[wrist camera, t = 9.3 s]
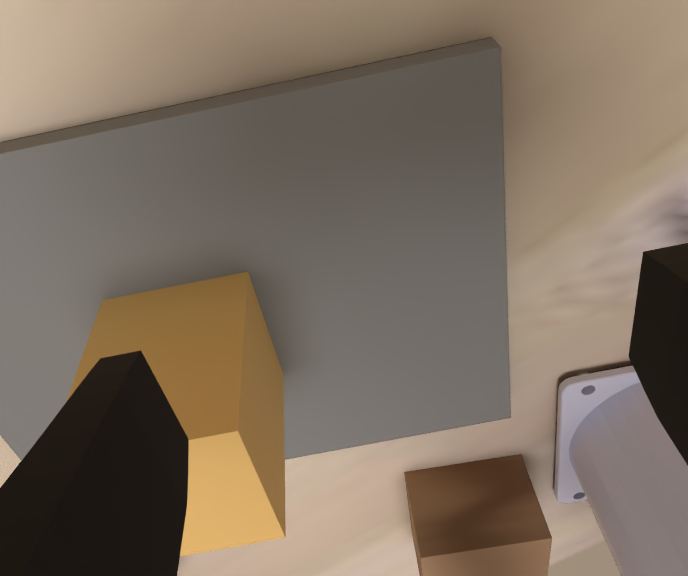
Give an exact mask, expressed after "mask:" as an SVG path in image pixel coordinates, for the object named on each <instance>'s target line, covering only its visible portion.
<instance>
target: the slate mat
mask: <svg viewBox="0 0 688 576" xmlns="http://www.w3.org/2000/svg"><path fill="white" fill-rule="evenodd" d="M244 272H248V273H249V276H250V279H251V282H252V285H253V288H254V291H255V294H256V296H257V299H258V302H259V305H260V308H261V311H262V314H263V317H264V320H265V323H266V325H267V328H268V331H269V334H270V337H271V340H272V343H273V346H274V349H275V352H276V354H277V357H278V360H279V363H280V366H281V369H282V372H283V375H284V452H285V460H286V459H291V458H297V457H302V456H307V455H313V454H318V453H324V452H329V451H334V450H340V449H345V448H350V447H356V446H361V445H367V444H372V443H377V442H383V441H388V440H394V439H399V438H404V437H410V436H415V435H420V434H426V433H431V432H437V431H442V430H447V429H453V428H458V427H463V426H469V425H474V424H480V423H485V422H490V421H496V420H501V419H507V418H511V406H510V370H509V334H508V297H507V261H506V225H505V189H504V152H503V116H502V80H501V47H500V46H499V45H498V44H497V43H496V42H495V40H494V39H493V38H492V37H491V38H487V39H482V40H477V41H473V42H468V43H463V44H459V45H454V46H449V47H445V48H440V49H435V50H431V51H426V52H421V53H417V54H412V55H407V56H403V57H398V58H393V59H389V60H384V61H379V62H375V63H370V64H365V65H361V66H356V67H351V68H347V69H342V70H337V71H333V72H328V73H323V74H319V75H314V76H309V77H305V78H300V79H295V80H291V81H286V82H281V83H277V84H272V85H267V86H263V87H258V88H253V89H249V90H244V91H239V92H235V93H230V94H225V95H221V96H216V97H211V98H207V99H202V100H197V101H193V102H188V103H183V104H179V105H174V106H169V107H165V108H160V109H155V110H151V111H146V112H141V113H137V114H132V115H127V116H123V117H118V118H113V119H109V120H104V121H99V122H95V123H90V124H85V125H81V126H76V127H71V128H67V129H62V130H57V131H53V132H48V133H43V134H39V135H34V136H29V137H25V138H20V139H15V140H11V141H6V142H1V143H0V435H1V436H2V438H3V439H4V440H5V441H6V442H7V444H8V445H9V446H10V447H11V449H12V450H13V451H14V452H15V453H16V455H17V456H18V457H19V458H20V459H21V461H22V460H23V458H24V457H25V456H26V454H27V453H28V452H29V450H30V449H31V448H32V447H33V445H34V444H35V443H36V441H37V440H38V439H39V438H40V436H41V435H42V434H43V432H44V431H45V430H46V428H47V427H48V426H49V424H50V423H51V422H52V420H53V419H54V418H55V416H56V415H57V414H58V412H59V411H60V410H61V408H62V407H63V406H64V404H65V403H66V401H67V398H68V395H69V393H70V390H71V387H72V384H73V381H74V378H75V376H76V373H77V370H78V367H79V364H80V361H81V359H82V356H83V353H84V350H85V347H86V344H87V342H88V339H89V336H90V333H91V330H92V327H93V325H94V322H95V319H96V316H97V313H98V310H99V308H100V305H101V302H102V300H107V299H112V298H117V297H122V296H127V295H132V294H137V293H142V292H147V291H152V290H157V289H162V288H168V287H173V286H178V285H183V284H188V283H193V282H198V281H203V280H208V279H213V278H218V277H223V276H228V275H234V274H239V273H244Z"/></svg>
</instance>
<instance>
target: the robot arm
mask: <svg viewBox="0 0 688 576" xmlns="http://www.w3.org/2000/svg"><path fill="white" fill-rule="evenodd" d="M629 358H630V360H631V362H632V366H627V367H622V368H616V369H611V370H606V371H600V372H595V373H590V374H584V375H579V376H574V377H570V378H567V379H565V380H564V381H563V382H562V383H561V384H560V385H559V390H558V413H557V436H556V459H555V482H554V494H555V497H556V500H557V501H558V502H559V503H562V504H568V503H573V502H579V501H584V500H588V502H589V504H590V507H591V509H592V511H593V513H594V516H595V518H596V520H597V522H598V525H599V527H600V529H601V531H602V534H603V536H604V538H605V540H606V543H607V545H608V547H609V549H610V552H611V554H612V556H613V558H614V560H615V563H616V565H617V567H618V570H619V572H620V574H621V576H688V243H686V244H681V245H676V246H671V247H665V248H660V249H655V250H650V251H645V252H643V257H642V264H641V272H640V279H639V286H638V293H637V300H636V307H635V315H634V322H633V329H632V336H631V343H630V351H629ZM188 456H189V439H188V437H187V435H186V433H185V431H184V430H183V428H182V426H181V424H180V422H179V420H178V418H177V417H176V415H175V413H174V411H173V409H172V407H171V405H170V404H169V402H168V400H167V398H166V396H165V394H164V392H163V390H162V389H161V387H160V385H159V383H158V381H157V379H156V377H155V376H154V374H153V372H152V370H151V368H150V366H149V364H148V362H147V361H146V359H145V357H144V355H143V353H142V351H141V350H140V351H135V352H130V353H125V354H120V355H115V356H110V357H105V358H100V359H99V361H98V362H97V363H96V364H95V366H94V367H93V368H92V369H91V370H90V372H89V373H88V374H87V376H86V377H85V378H84V379H83V381H82V382H81V383H80V385H79V386H78V387H77V389H76V390H75V391H74V393H73V394H72V395H71V396H70V398H69V399H68V400H67V402H66V403H65V404H64V406H63V407H62V408H61V410H60V411H59V412H58V414H57V415H56V416H55V418H54V419H53V420H52V422H51V423H50V424H49V426H48V427H47V428H46V430H45V431H44V432H43V434H42V435H41V436H40V438H39V439H38V440H37V441H36V443H35V444H34V445H33V447H32V448H31V449H30V450H29V452H28V453H27V454H26V456H25V457H24V458H23V460H22V461H21V462H20V463H19V465H18V466H17V467H16V469H15V470H14V471H13V472H12V474H11V475H10V476H9V478H8V479H7V480H6V482H5V483H4V484H3V485H2V487H1V488H0V576H177V571H178V564H179V558H180V551H181V544H182V538H183V531H184V524H185V517H186V509H187V497H188Z"/></svg>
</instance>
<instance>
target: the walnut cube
mask: <svg viewBox="0 0 688 576" xmlns="http://www.w3.org/2000/svg"><path fill="white" fill-rule="evenodd" d="M404 473H405V481H406V488H407V496H408V504H409V512H410V520H411V528H412V535H413V541H414V546H415V552H416V557H417V563H418V568H419V574H420V576H547V573H548V566H549V558H550V550H551V543H552V537H551V534H550V531H549V529H548V526H547V523H546V521H545V518H544V515H543V513H542V510H541V507H540V504H539V502H538V499H537V496H536V494H535V491H534V488H533V486H532V483H531V480H530V478H529V475H528V472H527V470H526V467H525V464H524V462H523V459H522V456H521V454H519V455H512V456H506V457H500V458H493V459H487V460H480V461H474V462H467V463H461V464H454V465H448V466H441V467H435V468H428V469H422V470H415V471H409V472H404Z"/></svg>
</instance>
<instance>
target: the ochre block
mask: <svg viewBox="0 0 688 576" xmlns="http://www.w3.org/2000/svg"><path fill="white" fill-rule="evenodd" d="M140 350H141V351H142V353H143V355H144V357H145V359H146V361H147V362H148V364H149V366H150V368H151V370H152V372H153V374H154V376H155V377H156V379H157V381H158V383H159V385H160V387H161V389H162V390H163V392H164V394H165V396H166V398H167V400H168V402H169V404H170V405H171V407H172V409H173V411H174V413H175V415H176V417H177V418H178V420H179V422H180V424H181V426H182V428H183V430H184V431H185V433H186V435H187V437H188V439H189V456H188V497H187V509H186V517H185V524H184V531H183V538H182V544H181V551H180V556H184V555H190V554H196V553H201V552H207V551H212V550H218V549H224V548H229V547H235V546H241V545H246V544H252V543H257V542H263V541H269V540H274V539H280V538H285V452H284V375H283V372H282V369H281V366H280V363H279V360H278V357H277V354H276V352H275V349H274V346H273V343H272V340H271V337H270V334H269V331H268V328H267V325H266V323H265V320H264V317H263V314H262V311H261V308H260V305H259V302H258V299H257V296H256V294H255V291H254V288H253V285H252V282H251V279H250V276H249V273H248V272H244V273H239V274H234V275H228V276H223V277H218V278H213V279H208V280H203V281H198V282H193V283H188V284H183V285H178V286H173V287H168V288H162V289H157V290H152V291H147V292H142V293H137V294H132V295H127V296H122V297H117V298H112V299H107V300H102V302H101V305H100V308H99V310H98V313H97V316H96V319H95V322H94V325H93V327H92V330H91V333H90V336H89V339H88V342H87V344H86V347H85V350H84V353H83V356H82V359H81V361H80V364H79V367H78V370H77V373H76V376H75V378H74V381H73V384H72V387H71V390H70V393H69V395H68V398H67V400H68V399H69V398H70V396H71V395H72V394H73V393H74V391H75V390H76V389H77V387H78V386H79V385H80V383H81V382H82V381H83V379H84V378H85V377H86V376H87V374H88V373H89V372H90V370H91V369H92V368H93V367H94V366H95V364H96V363H97V362H98V361H99V359H100V358H105V357H110V356H115V355H120V354H125V353H130V352H135V351H140ZM66 402H67V401H66Z"/></svg>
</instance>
